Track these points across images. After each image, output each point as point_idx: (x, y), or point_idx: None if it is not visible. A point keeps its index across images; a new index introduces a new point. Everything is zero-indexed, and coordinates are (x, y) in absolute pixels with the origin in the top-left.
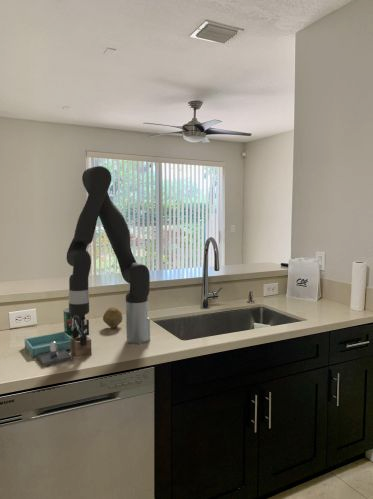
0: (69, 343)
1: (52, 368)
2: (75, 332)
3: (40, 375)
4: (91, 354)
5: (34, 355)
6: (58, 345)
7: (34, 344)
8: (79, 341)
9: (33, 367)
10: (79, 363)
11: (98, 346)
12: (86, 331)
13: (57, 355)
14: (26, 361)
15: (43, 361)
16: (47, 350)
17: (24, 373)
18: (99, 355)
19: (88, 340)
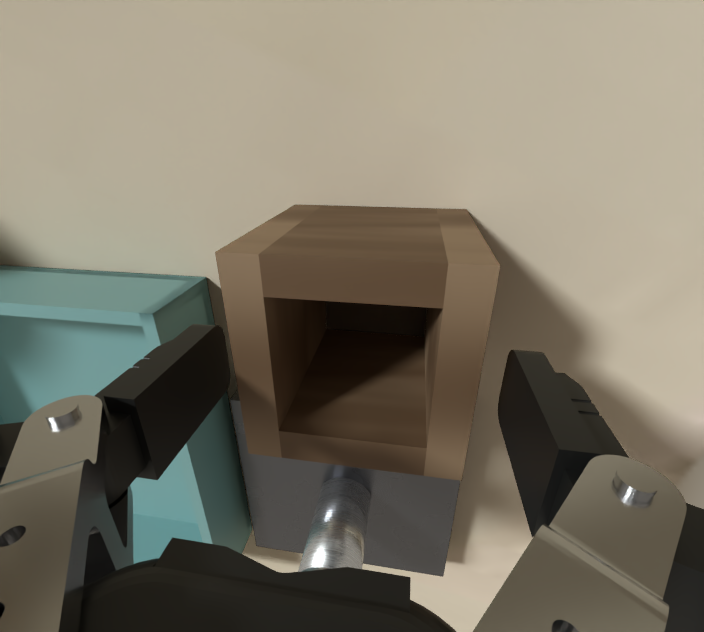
0: None
1: (510, 531)
2: (168, 428)
3: None
4: (466, 211)
5: (245, 537)
6: (200, 446)
7: None
8: (454, 435)
9: (406, 575)
10: (589, 387)
11: (251, 10)
12: (672, 557)
13: (367, 484)
14: (288, 562)
15: (420, 570)
16: (225, 492)
17: (459, 620)
18: (563, 140)
19: (489, 310)
